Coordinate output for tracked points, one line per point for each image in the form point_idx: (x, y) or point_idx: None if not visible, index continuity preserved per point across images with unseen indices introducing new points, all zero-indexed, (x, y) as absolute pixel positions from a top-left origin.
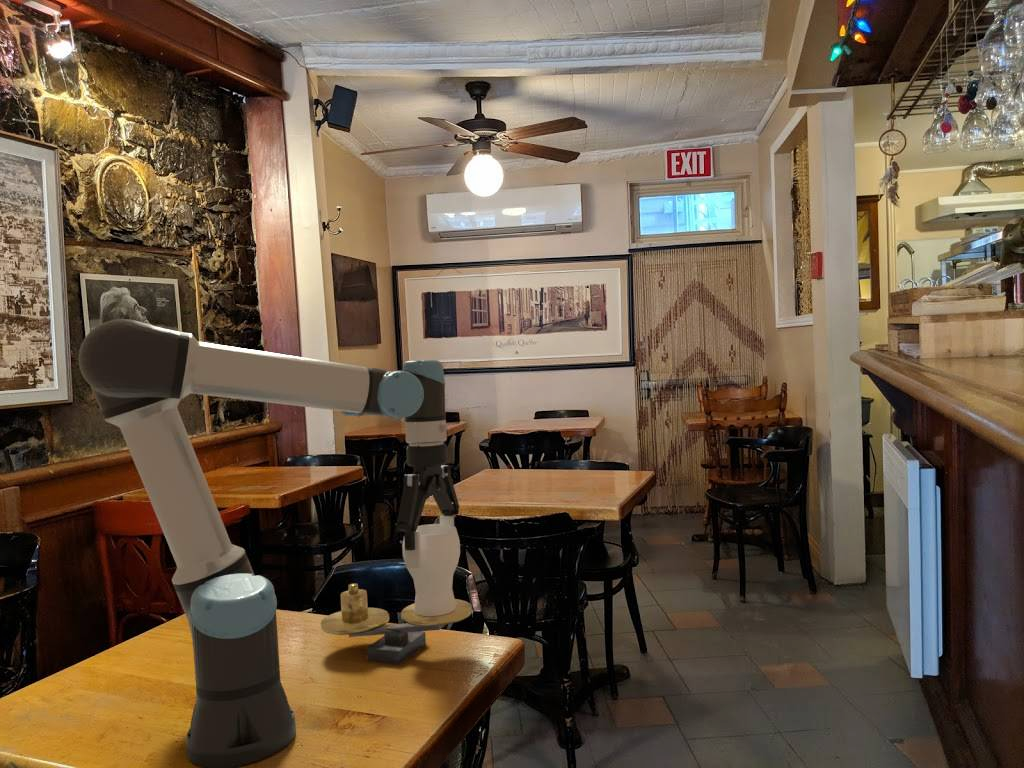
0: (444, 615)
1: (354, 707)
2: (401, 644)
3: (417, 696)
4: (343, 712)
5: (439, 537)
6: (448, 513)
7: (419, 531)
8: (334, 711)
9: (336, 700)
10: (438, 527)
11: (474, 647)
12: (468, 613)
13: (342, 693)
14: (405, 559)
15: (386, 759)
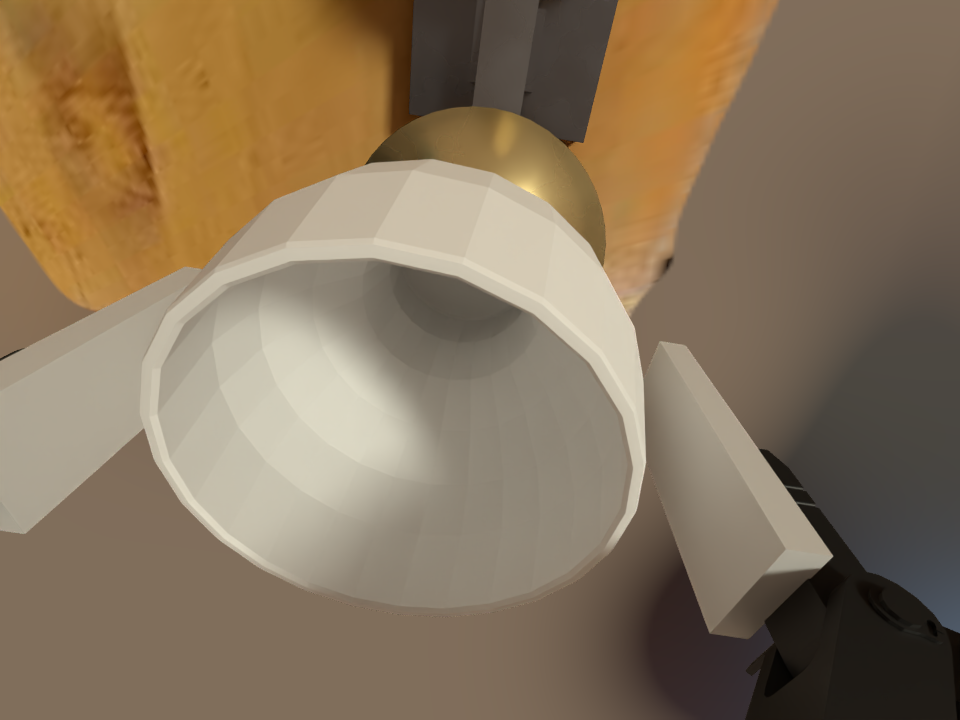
0: None
1: (150, 98)
2: (464, 96)
3: None
4: (116, 79)
5: (262, 543)
6: (791, 636)
7: (26, 528)
8: (105, 46)
9: (153, 12)
10: (622, 473)
11: None
12: None
13: (194, 7)
14: (145, 288)
15: (43, 269)
